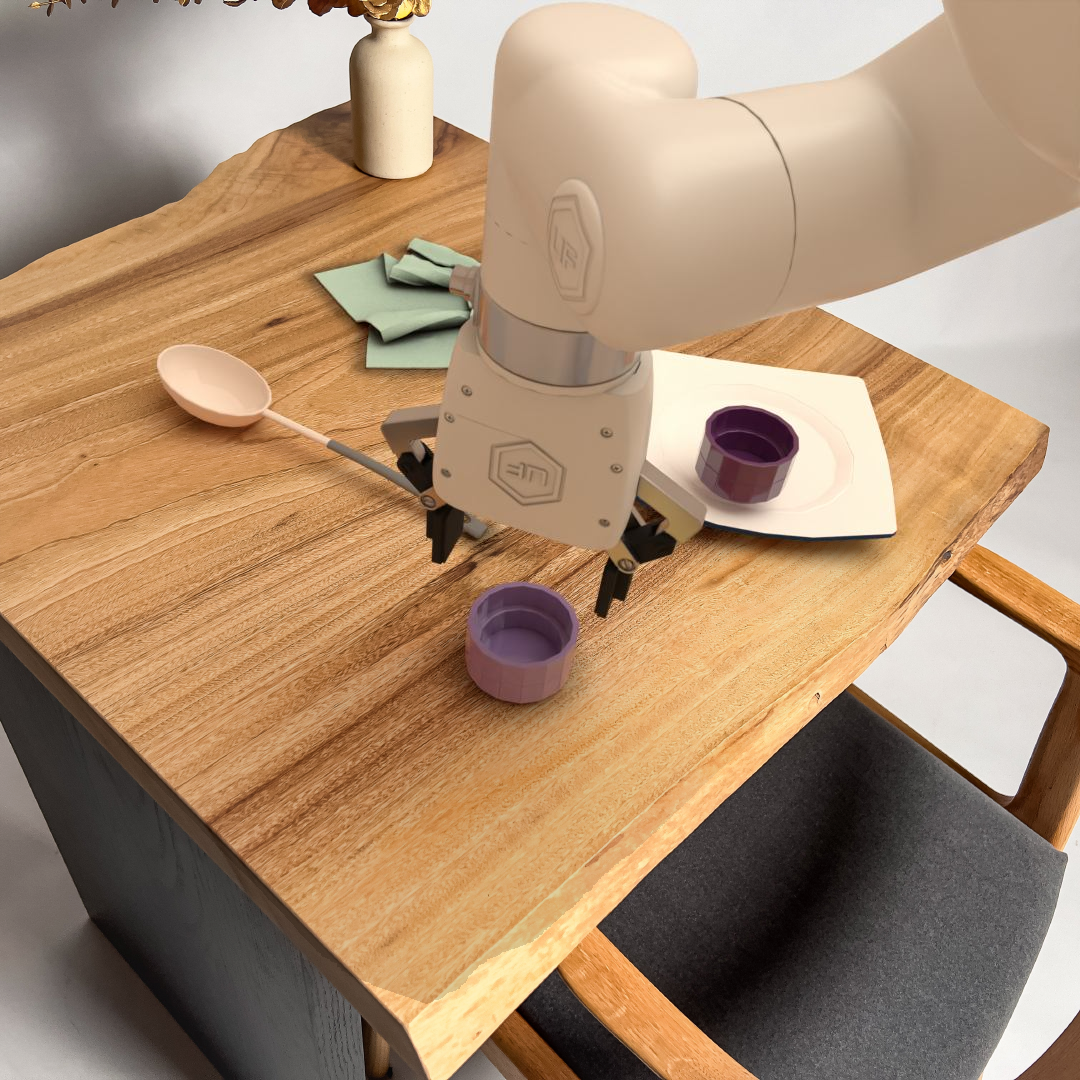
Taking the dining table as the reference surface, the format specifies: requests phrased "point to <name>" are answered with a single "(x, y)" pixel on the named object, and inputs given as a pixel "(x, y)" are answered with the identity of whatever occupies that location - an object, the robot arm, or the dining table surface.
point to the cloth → (405, 305)
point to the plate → (820, 466)
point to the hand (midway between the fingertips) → (526, 572)
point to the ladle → (249, 403)
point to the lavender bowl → (520, 641)
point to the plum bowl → (746, 454)
